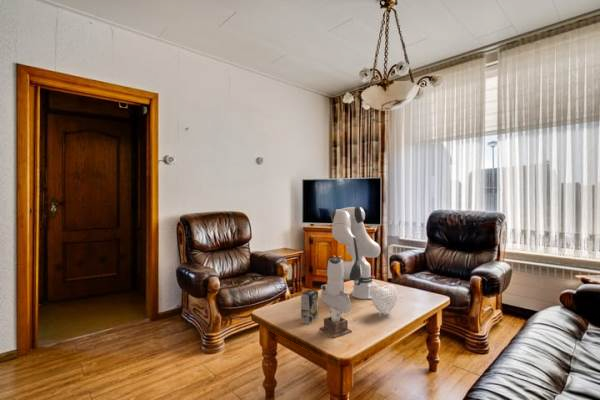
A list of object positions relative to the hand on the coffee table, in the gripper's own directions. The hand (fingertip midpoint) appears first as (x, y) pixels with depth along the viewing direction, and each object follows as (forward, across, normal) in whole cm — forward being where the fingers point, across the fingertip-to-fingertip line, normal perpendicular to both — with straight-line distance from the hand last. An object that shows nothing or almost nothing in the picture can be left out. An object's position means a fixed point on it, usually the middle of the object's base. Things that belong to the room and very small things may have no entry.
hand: (335, 315), depth 156 cm
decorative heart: (+9, 0, -38) cm, 39 cm away
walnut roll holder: (+8, 0, 0) cm, 8 cm away
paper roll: (+6, 0, 0) cm, 6 cm away
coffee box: (+8, +18, +4) cm, 20 cm away
